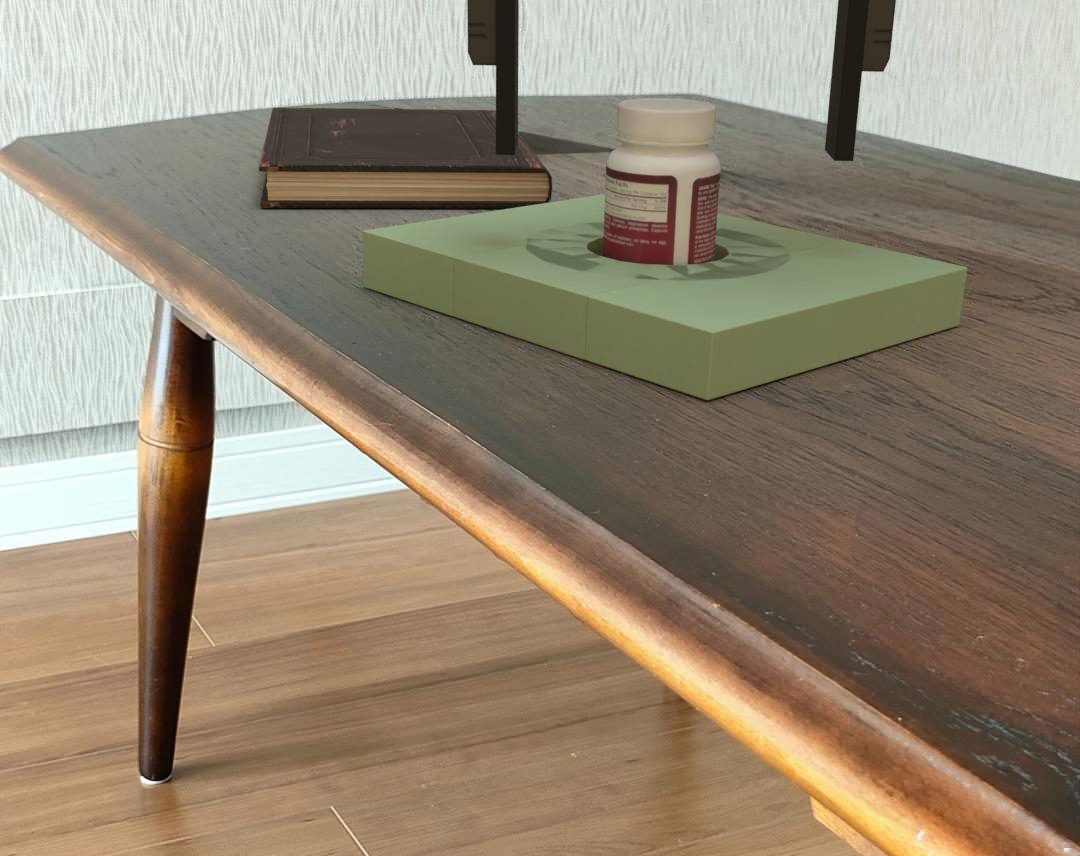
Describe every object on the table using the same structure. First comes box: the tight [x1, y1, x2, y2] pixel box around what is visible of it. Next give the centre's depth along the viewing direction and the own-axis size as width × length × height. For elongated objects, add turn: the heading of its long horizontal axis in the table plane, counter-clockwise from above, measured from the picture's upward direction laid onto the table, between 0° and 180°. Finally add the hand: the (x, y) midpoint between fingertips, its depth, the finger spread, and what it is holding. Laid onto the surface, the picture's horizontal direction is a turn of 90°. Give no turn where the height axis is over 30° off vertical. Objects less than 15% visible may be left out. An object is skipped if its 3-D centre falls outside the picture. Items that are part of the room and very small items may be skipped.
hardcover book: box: [258, 107, 553, 209], centre depth 90 cm, size 16×23×2 cm
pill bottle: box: [603, 97, 722, 265], centre depth 60 cm, size 5×5×8 cm
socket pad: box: [362, 193, 968, 401], centre depth 62 cm, size 20×16×2 cm
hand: (672, 153), depth 59 cm, fingers open, 13 cm apart
